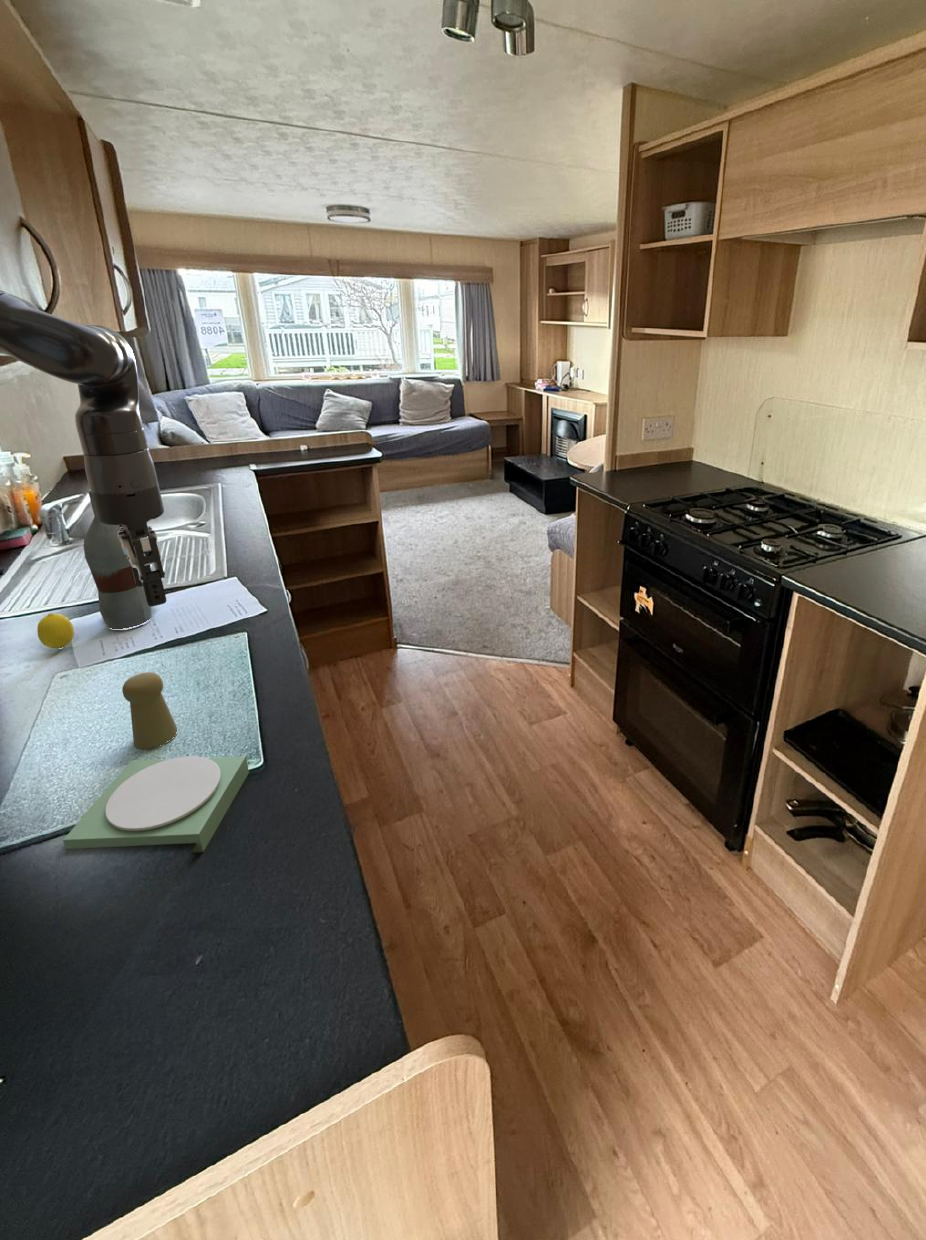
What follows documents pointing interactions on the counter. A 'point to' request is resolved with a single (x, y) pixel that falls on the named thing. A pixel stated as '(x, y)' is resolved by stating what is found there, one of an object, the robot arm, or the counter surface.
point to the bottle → (114, 577)
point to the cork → (148, 711)
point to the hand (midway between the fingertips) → (151, 594)
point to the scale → (162, 803)
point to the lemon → (55, 630)
